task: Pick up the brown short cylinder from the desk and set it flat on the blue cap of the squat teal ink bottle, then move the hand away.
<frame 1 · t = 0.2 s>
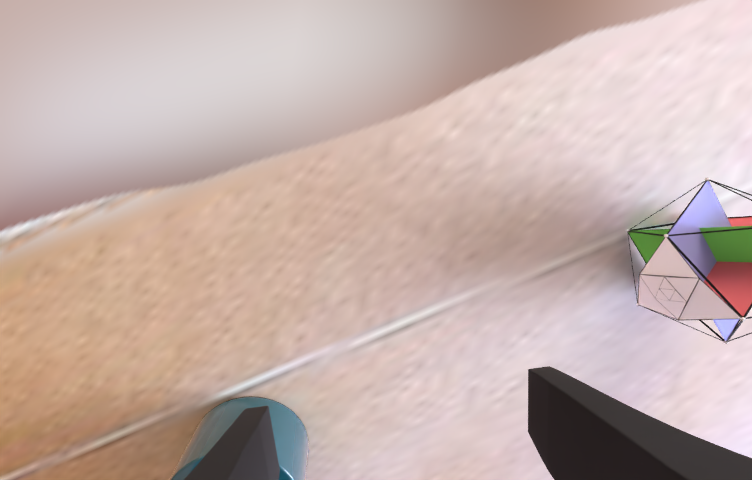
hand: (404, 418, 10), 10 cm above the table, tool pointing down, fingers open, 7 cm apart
geometric puzzle: (658, 244, 21), on the table
ink bottle: (251, 445, 21), on the table
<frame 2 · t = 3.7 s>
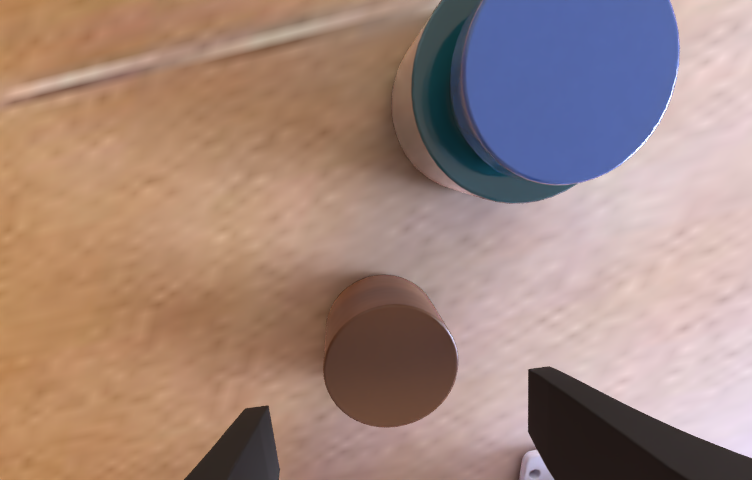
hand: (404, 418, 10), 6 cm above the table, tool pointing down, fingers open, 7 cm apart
brown short cylinder: (381, 326, 16), on the table
ink bottle: (475, 105, 14), on the table
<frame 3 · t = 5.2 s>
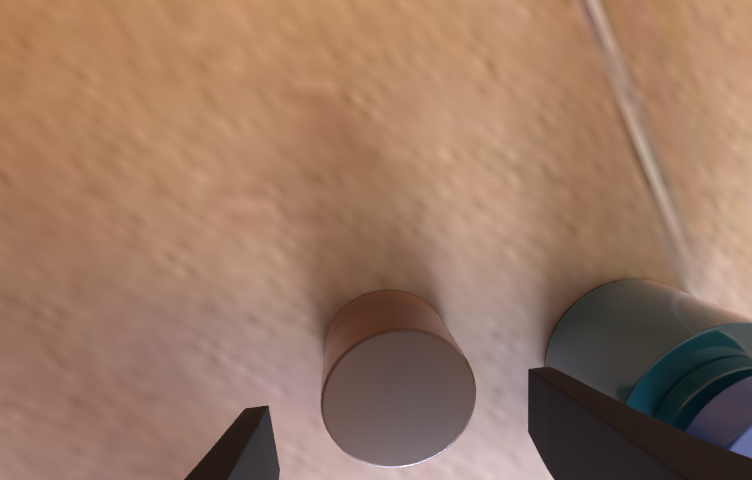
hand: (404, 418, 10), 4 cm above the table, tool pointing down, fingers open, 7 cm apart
brown short cylinder: (386, 347, 14), on the table
ink bottle: (620, 353, 15), on the table
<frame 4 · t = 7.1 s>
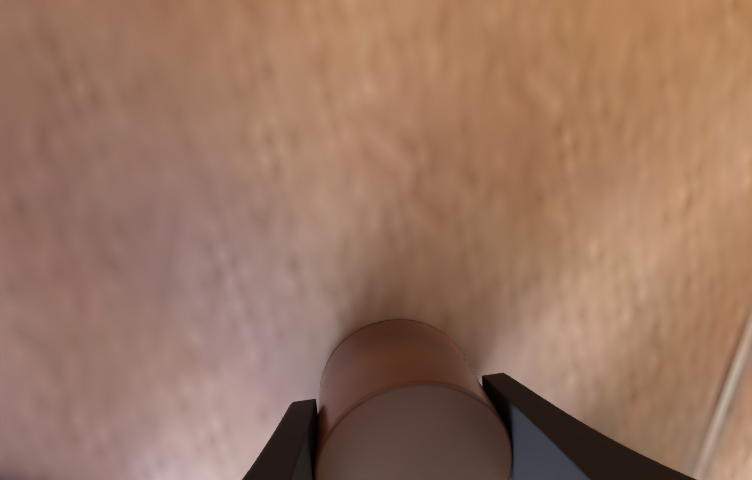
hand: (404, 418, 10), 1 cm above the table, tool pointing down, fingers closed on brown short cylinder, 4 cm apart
brown short cylinder: (395, 387, 12), on the table, touching gripper
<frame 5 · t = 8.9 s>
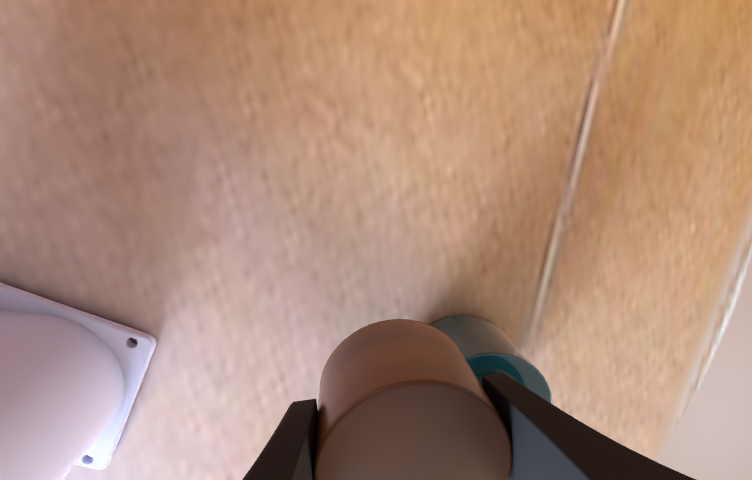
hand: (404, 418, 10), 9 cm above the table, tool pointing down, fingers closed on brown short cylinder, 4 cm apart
brown short cylinder: (394, 387, 12), point 8 cm above the table, touching gripper
ink bottle: (457, 368, 21), on the table
when the fingers open (7 cm above the table, at t = 10.6 s): brown short cylinder stays where it is, resting on ink bottle.
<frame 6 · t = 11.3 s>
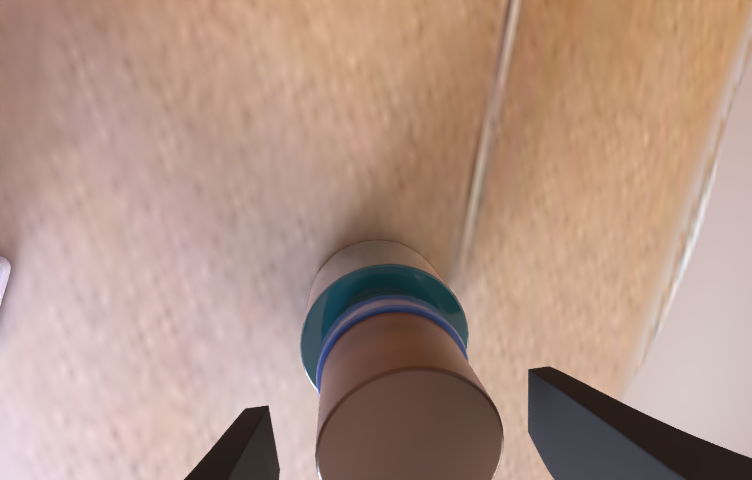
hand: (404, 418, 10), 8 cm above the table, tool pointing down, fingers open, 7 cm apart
brown short cylinder: (393, 377, 12), point 6 cm above the table, touching ink bottle
ink bottle: (376, 304, 18), on the table
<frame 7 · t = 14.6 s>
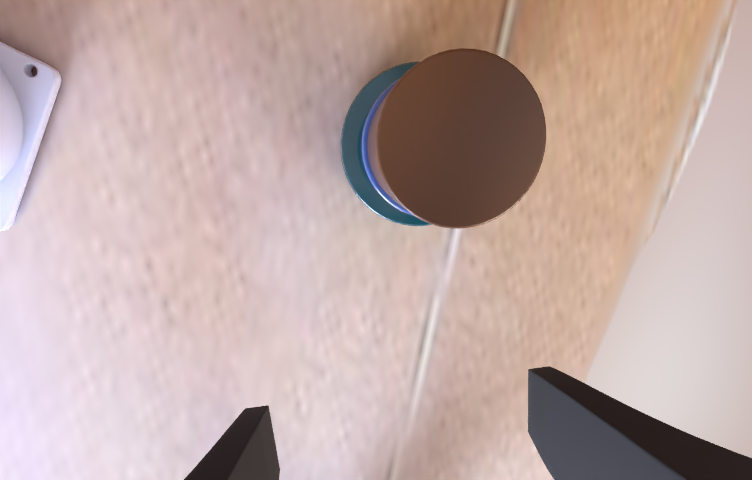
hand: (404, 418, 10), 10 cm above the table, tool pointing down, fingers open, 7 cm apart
brown short cylinder: (433, 145, 13), point 6 cm above the table, touching ink bottle
ink bottle: (404, 149, 19), on the table
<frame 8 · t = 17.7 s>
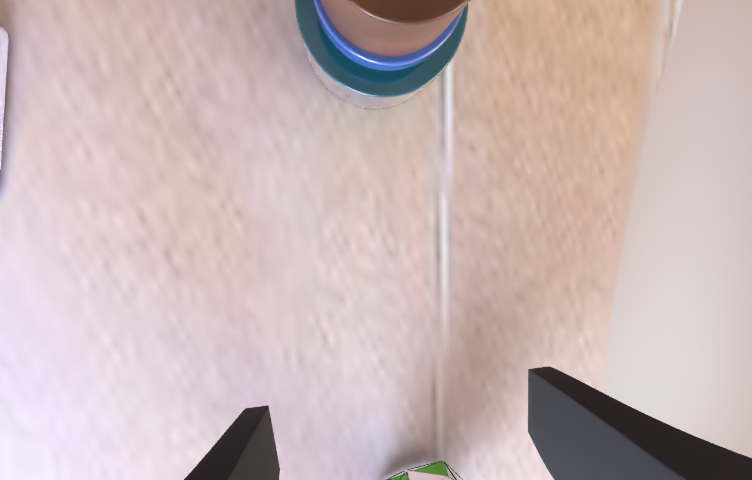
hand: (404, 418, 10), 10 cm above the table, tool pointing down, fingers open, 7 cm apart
ink bottle: (373, 37, 18), on the table
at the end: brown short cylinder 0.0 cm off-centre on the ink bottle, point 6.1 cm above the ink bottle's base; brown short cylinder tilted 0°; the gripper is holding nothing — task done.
